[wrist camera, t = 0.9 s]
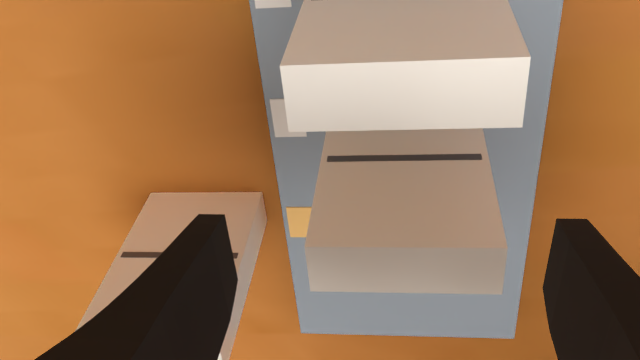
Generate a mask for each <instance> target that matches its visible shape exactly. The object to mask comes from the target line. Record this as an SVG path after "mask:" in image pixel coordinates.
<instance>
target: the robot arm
mask: <svg viewBox="0 0 640 360" xmlns="http://www.w3.org/2000/svg"><path fill="white" fill-rule="evenodd" d="M237 283H238V277H237V272H236V267H235V262H234V257H233V252H232V248H231V243H230V238H229V233H228V228H227V223H226V218H225V214H198V215H197V216H196V217H195V218H194V219H193V220H192V221H191V222H190V223H189V225H188V226H187V227H186V228H185V229H184V230H183V231H182V232H181V233H180V234H179V235H178V236H177V237H176V238H175V240H174V241H173V242H172V243H171V244H170V245H169V246H168V247H167V248H166V249H165V250H164V251H163V252H162V253H161V254H160V255H159V256H158V257H157V258H156V259H155V261H154V262H153V263H152V264H151V265H150V266H149V267H148V268H147V269H146V270H145V271H144V272H143V273H142V274H141V275H140V276H139V277H138V278H137V279H136V280H135V281H134V282H133V283H131V284H130V285H129V286H128V287H127V288H126V289H125V290H124V291H123V292H122V293H121V294H120V295H118V296H117V297H116V298H115V299H114V300H113V301H112V302H111V303H110V304H109V305H107V306H106V307H105V308H104V309H103V310H102V311H100V312H99V313H98V314H97V315H96V316H94V317H93V318H92V319H91V320H89V321H88V322H87V323H85V324H84V325H83V326H82V327H80V328H79V329H78V330H76V331H75V332H74V333H72V334H71V335H70V336H68V337H67V338H66V339H64V340H63V341H61V342H60V343H58V344H57V345H55V346H54V347H52V348H51V349H49V350H48V351H47V352H45V353H44V354H42V355H41V356H39V357H38V358H36V359H35V360H218V357H219V354H220V351H221V348H222V344H223V341H224V338H225V335H226V332H227V329H228V326H229V323H230V320H231V315H232V310H233V305H234V300H235V294H236V289H237ZM543 293H544V299H545V306H546V312H547V318H548V324H549V329H550V334H551V337H552V341H553V344H554V347H555V351H556V354H557V357H558V360H640V277H639V276H638V275H637V274H636V273H635V272H634V271H633V269H632V268H631V267H630V266H629V265H628V264H627V263H626V262H625V261H624V260H623V259H622V257H621V256H620V255H619V254H618V253H617V252H616V251H615V250H614V249H613V247H612V246H611V245H610V244H609V243H608V242H607V241H606V240H605V238H604V237H603V236H602V235H601V234H600V233H599V232H598V231H597V229H596V228H595V227H594V226H593V225H592V224H591V223H590V222H589V221H588V220H587V219H556V224H555V229H554V234H553V239H552V244H551V249H550V254H549V259H548V264H547V269H546V274H545V279H544V284H543Z"/></svg>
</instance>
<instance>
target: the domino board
mask: <svg viewBox="0 0 640 360" xmlns="http://www.w3.org/2000/svg"><path fill="white" fill-rule="evenodd" d="M303 1H304V0H249V4H250V10H251V17H252V23H253V29H254V36H255V42H256V48H257V55H258V61H259V68H260V74H261V80H262V87H263V93H264V99H265V106H266V112H267V118H268V125H269V131H270V138H271V144H272V150H273V157H274V163H275V169H276V176H277V182H278V189H279V195H280V201H281V208H282V214H283V220H284V227H285V233H286V240H287V246H288V252H289V259H290V265H291V271H292V278H293V284H294V290H295V297H296V303H297V310H298V316H299V322H300V329H301V333H315V334H354V335H393V336H431V337H470V338H508V339H514V336H515V329H516V322H517V315H518V308H519V302H520V295H521V288H522V281H523V274H524V267H525V260H526V254H527V247H528V240H529V233H530V226H531V219H532V212H533V206H534V199H535V192H536V185H537V178H538V171H539V164H540V157H541V151H542V144H543V137H544V130H545V123H546V116H547V109H548V103H549V96H550V89H551V82H552V75H553V68H554V61H555V55H556V48H557V41H558V34H559V27H560V20H561V13H562V6H563V0H508V2H509V4H510V7H511V9H512V12H513V14H514V17H515V19H516V22H517V24H518V27H519V29H520V31H521V34H522V36H523V39H524V41H525V44H526V46H527V49H528V51H529V54H530V56H531V60H530V68H529V76H528V85H527V93H526V101H525V110H524V118H523V126H522V127H521V128H483V132H484V137H485V142H486V147H487V152H488V156H489V161H490V166H491V171H492V175H493V180H494V185H495V190H496V195H497V199H498V204H499V209H500V214H501V218H502V223H503V228H504V233H505V238H506V242H507V247H508V250H507V258H506V267H505V275H504V283H503V291H502V295H499V294H438V293H377V292H316V291H310V285H309V278H308V270H307V263H306V256H305V248H304V246H305V241H306V235H307V230H308V225H309V219H310V214H311V209H312V203H313V198H314V193H315V188H316V182H317V177H318V172H319V166H320V161H321V156H322V150H323V145H324V140H325V135H326V131H319V132H289V131H288V123H287V116H286V108H285V101H284V94H283V86H282V79H281V72H280V64H281V61H282V58H283V55H284V53H285V50H286V47H287V44H288V42H289V39H290V36H291V34H292V31H293V28H294V25H295V23H296V20H297V17H298V14H299V12H300V9H301V6H302V4H303Z"/></svg>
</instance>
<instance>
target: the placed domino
mask: <svg viewBox="0 0 640 360" xmlns="http://www.w3.org/2000/svg"><path fill="white" fill-rule="evenodd" d="M198 214H225V218H226V223H227V228H228V233H229V238H230V243H231V248H232V252H233V257H234V262H235V267H236V272H237V277H238V283H237V289H236V294H235V300H234V305H233V310H232V315H231V320H230V323H229V326H228V329H227V332H226V335H225V338H224V341H223V344H222V348H221V351H220V354H219V357H218V360H229V358H230V355H231V351H232V348H233V344H234V340H235V337H236V333H237V329H238V326H239V322H240V318H241V315H242V311H243V308H244V304H245V300H246V297H247V293H248V289H249V286H250V282H251V278H252V275H253V271H254V268H255V264H256V260H257V257H258V253H259V249H260V246H261V242H262V238H263V235H264V231H265V227H266V224H267V216H266V210H265V205H264V199H263V193H262V192H159V193H150V195H149V197H148V199H147V201H146V202H145V204H144V206H143V208H142V210H141V212H140V213H139V215H138V217H137V219H136V221H135V223H134V224H133V226H132V228H131V230H130V232H129V234H128V235H127V237H126V239H125V241H124V243H123V245H122V246H121V248H120V250H119V252H118V254H117V255H116V257H115V259H114V261H113V263H112V265H111V266H110V268H109V270H108V272H107V274H106V276H105V277H104V279H103V281H102V283H101V285H100V287H99V288H98V290H97V292H96V294H95V296H94V298H93V299H92V301H91V303H90V305H89V307H88V309H87V310H86V312H85V314H84V316H83V318H82V320H81V321H80V323H79V325H78V327H77V329H76V330H78V329H79V328H80V327H82V326H83V325H84V324H85V323H87V322H88V321H89V320H91V319H92V318H93V317H94V316H96V315H97V314H98V313H99V312H100V311H102V310H103V309H104V308H105V307H106V306H107V305H109V304H110V303H111V302H112V301H113V300H114V299H115V298H116V297H117V296H118V295H120V294H121V293H122V292H123V291H124V290H125V289H126V288H127V287H128V286H129V285H130V284H131V283H133V282H134V281H135V280H136V279H137V278H138V277H139V276H140V275H141V274H142V273H143V272H144V271H145V270H146V269H147V268H148V267H149V266H150V265H151V264H152V263H153V262H154V261H155V259H156V258H157V257H158V256H159V255H160V254H161V253H162V252H163V251H164V250H165V249H166V248H167V247H168V246H169V245H170V244H171V243H172V242H173V241H174V240H175V238H176V237H177V236H178V235H179V234H180V233H181V232H182V231H183V230H184V229H185V228H186V227H187V226H188V225H189V223H190V222H191V221H192V220H193V219H194V218H195V217H196V216H197V215H198ZM76 330H75V331H76Z"/></svg>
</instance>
